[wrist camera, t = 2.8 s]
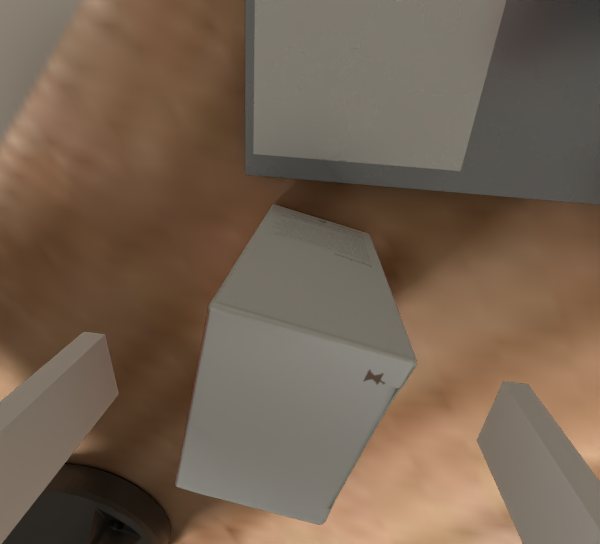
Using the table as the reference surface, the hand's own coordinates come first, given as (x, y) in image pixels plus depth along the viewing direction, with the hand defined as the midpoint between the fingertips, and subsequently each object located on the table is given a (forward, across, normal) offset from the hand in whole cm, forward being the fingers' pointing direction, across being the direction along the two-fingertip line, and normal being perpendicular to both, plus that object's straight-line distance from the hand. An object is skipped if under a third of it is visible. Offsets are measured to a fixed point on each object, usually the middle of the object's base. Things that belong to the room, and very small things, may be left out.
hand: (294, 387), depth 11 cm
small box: (+9, 0, 0) cm, 9 cm away
